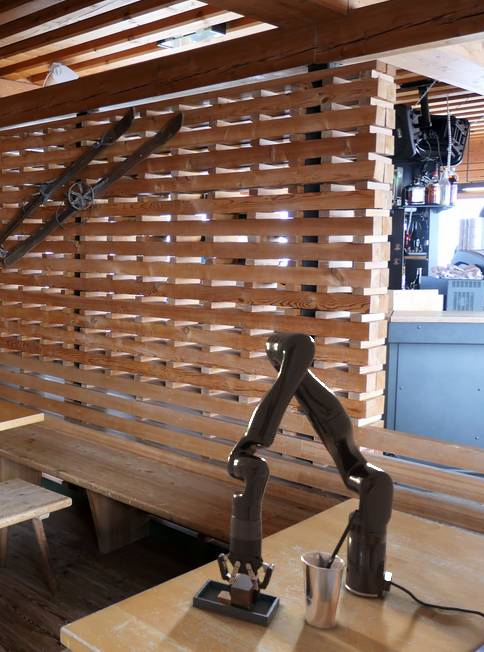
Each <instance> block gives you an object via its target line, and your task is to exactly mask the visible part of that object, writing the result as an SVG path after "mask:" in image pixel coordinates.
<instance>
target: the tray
mask: <svg viewBox="0 0 484 652" xmlns="http://www.w3.org/2000/svg"><path fill="white" fill-rule="evenodd" d="M221 591H226V592H229V583H226V582H222V581H218V580H214V579H210V578H208V579H207V580H206V581H205V582H204V584H203V585H202V586H201V587H200V588H199V589H198V591H197V592H196V593H195V594H194V595H193V597H192V607H194V608H199V609H203V610H206V611H209V612H213V613H216V614H221V615H224V616H226V617H227V616H228V617H231V618H234V619H239V620H242V621H246V622H250V623H253V624H257V625H260V626H264V627H268V626H269V624H270V622H272V620H273V617H274V616H275V614H276V612H277V611H278V609H279V607H280V601H281V599H280V596H278V595H274V594H270V593H265V592H262V591H260V600H259V601H258V602H257V603H256V604H254V606H253V607H252V609H251V610H250V611H247V610H243V609H239V608H235V607H232V606H228V605H224V604H220V603H217V597H218V595H219V594H220V593H221Z"/></svg>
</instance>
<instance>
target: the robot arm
mask: <svg viewBox="0 0 484 652" xmlns="http://www.w3.org/2000/svg"><path fill="white" fill-rule="evenodd" d="M316 350H317V349H316V343H315V341H314V339H313V338H312V337H311V336H310V334H309V335H308V334H306V333H304V332H293V331H292V332H287V331H281V332H279V331H278V332H275V333H272V334H271V335H270V336H269V337H268V338H267V340H266V342H265V354H266V357H267V359H268V361H269V363H270V364H271V366H272V367H273V368H274V370H275V371H276V373H278V374H277V377H276V379H275V380H274V382H273V384H272V385H271V386H270V388H269V389H268V390H267V392H265V394H264V395H263V396H262V397H261V398H260V400H259V401H258V402H257V404H256V405H255V407H254V409H253V411H252V413H251V415H250V418H249V421H248V423H247V426H246V429H245V432H244V433H243V434H242V436H241V437H240V438H239V440H238V441H237V442H236V444H235V445H234V447H233V448H232V449H231V451H230V453H229V454H228V456H227V459H226V464H225V465H226V471H227V474H228V475H229V476H230V477H231V478H232V479H235V480H237V481H239V482H242V483H245V487H244V489H237V490H235V491H234V492H233V493H232V497H231V517H230V525H229V533H230V534H229V552H228V554H227V553H226V554H224V553H221V552H220V554H218V556H217V557H216V560H217V565H218V568H219V572H220V577H221V580H223V581H226V582H228V584H229V594H230V596H231V586H232V585H233V583H234V582H235V580H236V579H237V578H238V576H239V575H240V574H246V575H248V576H250V580H251V581H252V584H253V588H254V589H253V604H256V603H257V602H258V601H259V600H260V592H261V590H264V591H265V590H266V589H267V588H268V586H269V584H270V581H271V579H272V576H273V572H274V571H275V565H274V564H272V563H270V564H269V563H266V562H265V561H264V559H263V556H262V553H263V552H262V551H263V549H262V548H263V521H262V511H263V509H262V506H263V504H262V503H263V499H264V496H265V492H266V490H267V487H268V483H269V480H270V477H271V472H270V471H271V470H270V467H269V464H268V462H267V460H266V459H264V458H262V457H261V456H258V455H256V453H257V452H258V451H259V450H263V449H266V450H267V449H270V448H272V446H273V444H274V442H275V439H276V436H277V434H278V431H279V429H280V426H281V424H282V420H283V418H284V415H285V413H286V411H287V409H288V407H289V405H290V403H291V401H292V399H293V398H295V400H296V402H297V404H298V405H299V406H300V408H301V410H302V412H303V413H304V415H305V417H306V418H307V420H308V422H309V424H310V426H311V428H312V429H313V430H314V432H315V433H316V435H317V436H318V438H319V440H320V441H321V443H322V444H323V446H324V448H325V449H326V451H327V453H328V454H329V456H330V457H331V458H332V460H333V463H334V464H335V467H336V470H337V471H338V473H339V475H340V477H341V480H342V482H343V484H344V486H345V488H346V489H347V490H348V492H349V493H350V494H352V495H353V496H354V497H356V498H358V500H359V502H358V509H357V510H359V513H358V515H357V517H356V519H355V521H354V523H353V525H352V527H351V529H350V531H349V532H348V534H347V538H346V539H347V541H346V561H345V563H346V566H345V568H344V569H345V582H344V588H345V590H346V591H348V592H349V593H351V594H352V595H355V596H358V597H361V598H366V599H379V600H383V599H384V596H385V592H386V593H387V592H388V593H390V591H391V587H392V586H393V587H395V588H397V589H399V590H401V591H403V592H404V593H406V594H407V595H408V596H410V598H411V599H412V600H413V601H414V602H416V603H418V604H419V605H422V606H425V607H427V608H434V609H439V610H444V611H452V612H453V611H454V612H460V613H465V614H474V615H478V616H480V617H482V618H484V613H483V612H481V611H479V610H475V609H468V608H462V607H455V606H447V605H446V606H445V605H439V604H433V603H429V602H425V601H423V600H420V599H419V598H417V597H416V596H415V595H414V594H413V593H412V592H411V591H410V590H409V589H407V588H406V587H404V586H402V585H400V584H398V583H396V582H394V581H393V573H392V572H388V571H387V563H388V562H387V560H388V555H387V543H388V542H387V541H388V540H387V539H388V526H389V523H390V521H391V519H392V514H393V505H394V496H395V495H394V494H395V483H394V480H393V478H392V476H391V475H390V473H388V472H386V471H385V470H383V469H381V468H378V467H377V466H374V465H372V463H369V461H368V460H367V459H366V457H365V456H364V455H363V453H362V452H361V450H360V449H359V447H358V446H357V443H356V441H355V432H354V431H355V430H354V424H353V421H352V419H351V416H350V415H349V413H348V412H347V410H346V408H345V407H344V405H343V403H342V402H341V400H340V399H339V398H338V396H336V394H335V393H334V392H333V391H332V390H331V389H329V388H328V387H327V386H325V384H324V383H323V382H321V381H320V380H319V379H318V378H317V377H315V375H314V374H313V373H312V372H311V370H310V369H311V366H312V364H313V362H314V360H315V357H316V352H317V351H316ZM354 512H355V510H353V511H351V512H349V514H348V519H347V520H348V522H347V524H348V523H349V521H350V519H351V517H352V515H353V513H354ZM228 562H229V563H230V564H231V566H232V568H233V569H232V571H231V573H229V568H228V565H227V564H228ZM261 568H262V570H263V571H262V572H263V573H264V577H263V580H262V581H261V580H260V574H259V570H260V569H261Z"/></svg>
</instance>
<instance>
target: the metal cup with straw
mask: <svg viewBox="0 0 484 652" xmlns="http://www.w3.org/2000/svg"><path fill="white" fill-rule="evenodd" d="M354 511H355V512H354V513H353V515H352V517H351V519H350V521H349V523H348V522H347V525H346V527H345V529H344V531H343V533H342V535H341V537H340V538H339V540H338V543H337V544H336V546H335V548H334V550H333V552H332V553H328V552H323V551H306V552H304V553H302V554H301V555H300V556H299V557H300V561H301V562H302V575H303V590H304V591H303V592H304V601H305V602H304V603H305V620H306V623H308V625H311V626H313V627H315V628H318V629H322V630H323V629H325V630H328V629H333V628H334V627H335V626H336V619H337V611H338V606H339V605H338V604H339V600H340V594H341V587H342V580H343V573H344V569H345V567H346V561H345V560H344V559H343V558H341V557H339V556H337V555H338V553H339V552H340V550H341V548H342V546H343V543H344V542H345V541H346V539H347V537H348V532H349V531H350V529H351V527H352V525H353V523H354V521H355V519H356V517H357V515H358V513H359V510H358V509H357V508H356V509H354Z"/></svg>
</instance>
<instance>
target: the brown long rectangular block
mask: <svg viewBox="0 0 484 652" xmlns="http://www.w3.org/2000/svg"><path fill="white" fill-rule="evenodd" d="M253 589H254V588H253V584H252V581H251V580H250V576H248V575H246V574H238V576H237V579H236V580H235V582H234V583H233V585H232V586H231V603H230V606H232V607H235V608H239V609H243V610H247V611H250V610H251V609H252V607H253V606H254V604H253Z"/></svg>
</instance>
